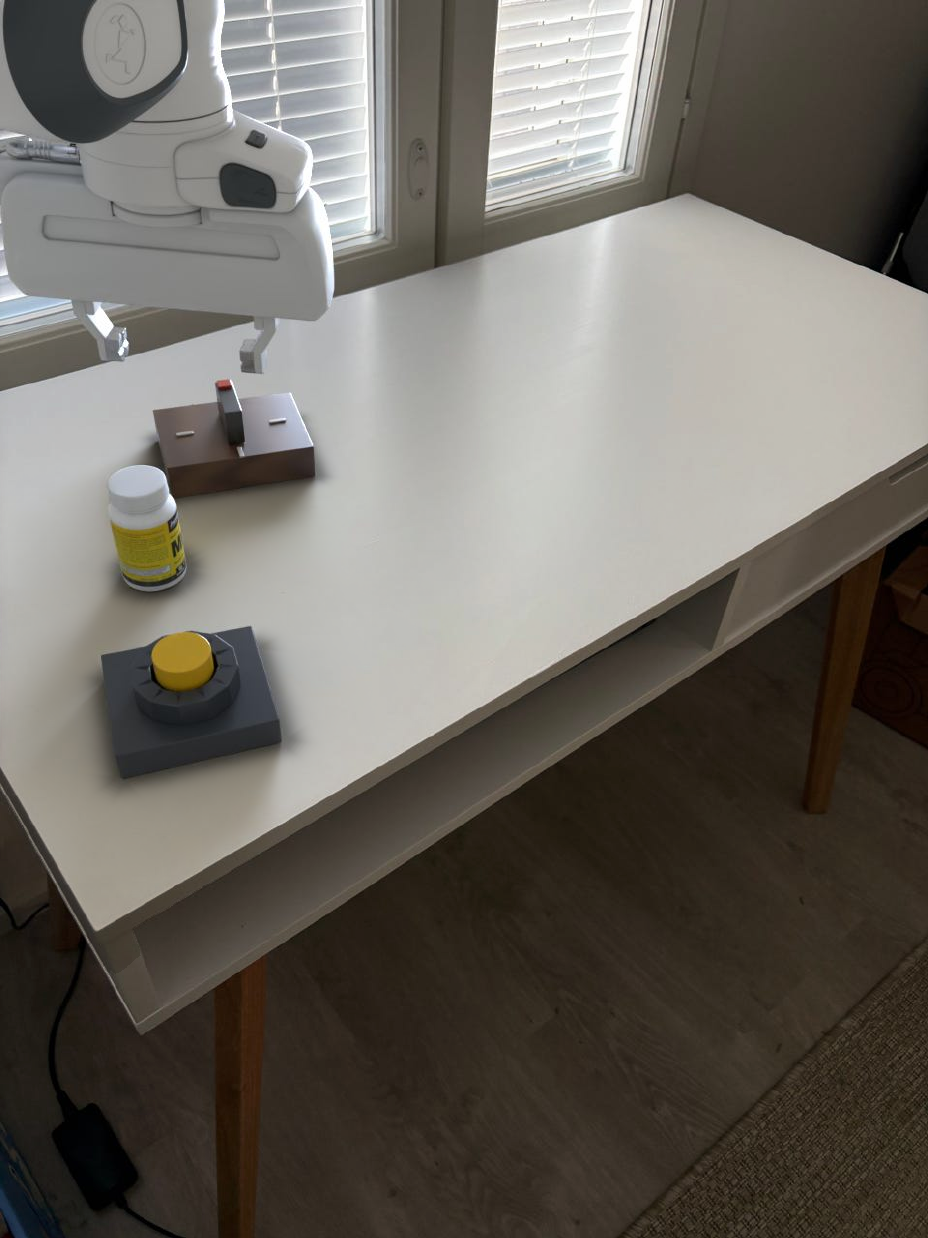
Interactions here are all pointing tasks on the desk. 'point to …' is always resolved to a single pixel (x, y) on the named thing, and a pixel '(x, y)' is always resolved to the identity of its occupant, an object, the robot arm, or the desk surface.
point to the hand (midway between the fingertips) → (185, 363)
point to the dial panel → (233, 446)
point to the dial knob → (230, 411)
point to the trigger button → (182, 661)
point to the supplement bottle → (146, 528)
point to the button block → (189, 706)
